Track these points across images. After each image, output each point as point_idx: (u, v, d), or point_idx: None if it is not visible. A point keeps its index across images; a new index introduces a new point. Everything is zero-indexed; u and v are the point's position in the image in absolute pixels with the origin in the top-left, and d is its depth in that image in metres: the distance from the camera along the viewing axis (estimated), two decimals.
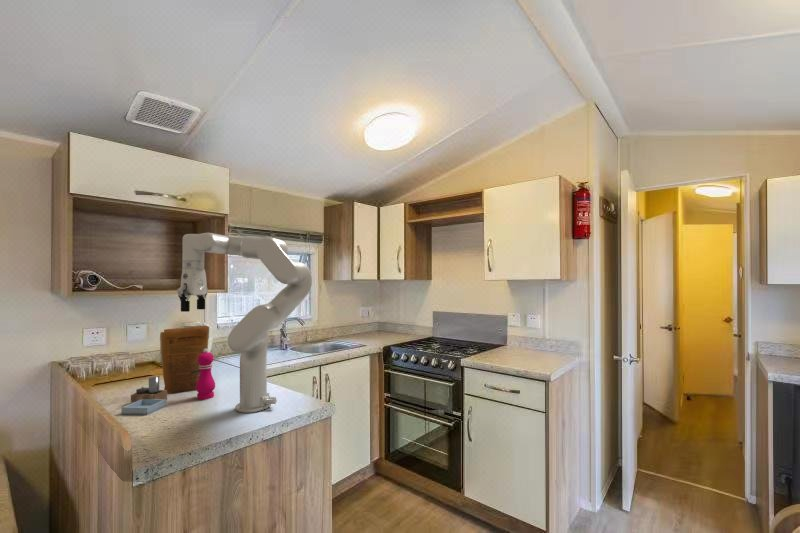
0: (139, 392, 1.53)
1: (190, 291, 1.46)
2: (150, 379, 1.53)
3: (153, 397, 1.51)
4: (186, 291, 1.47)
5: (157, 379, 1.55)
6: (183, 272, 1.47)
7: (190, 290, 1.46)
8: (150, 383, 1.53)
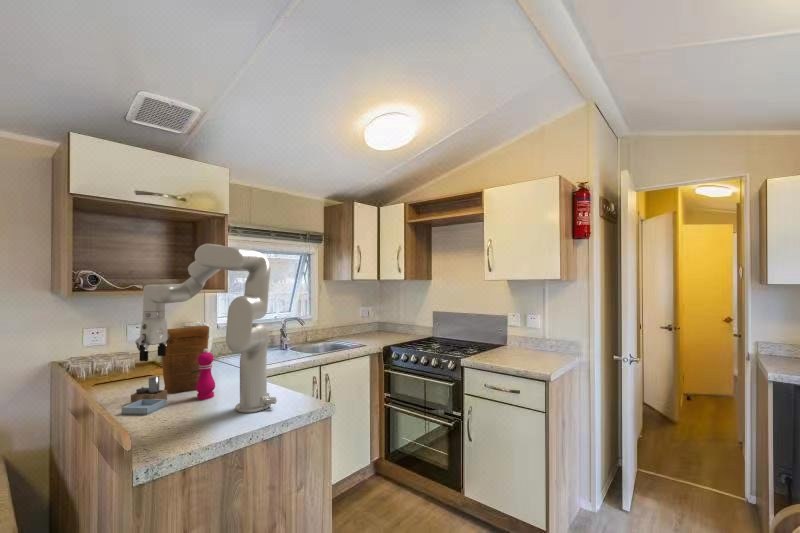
0: (139, 392, 1.53)
1: (148, 342, 1.50)
2: (150, 379, 1.53)
3: (153, 397, 1.51)
4: (145, 341, 1.52)
5: (157, 379, 1.55)
6: (142, 322, 1.51)
7: (149, 340, 1.50)
8: (150, 383, 1.53)
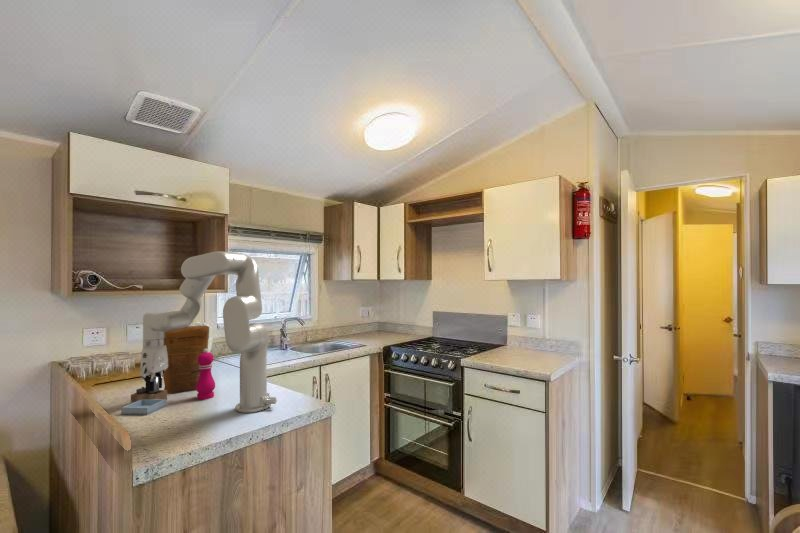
0: (139, 392, 1.53)
1: (149, 370, 1.50)
2: None
3: (153, 397, 1.51)
4: None
5: (157, 379, 1.55)
6: (143, 351, 1.51)
7: (149, 369, 1.50)
8: None
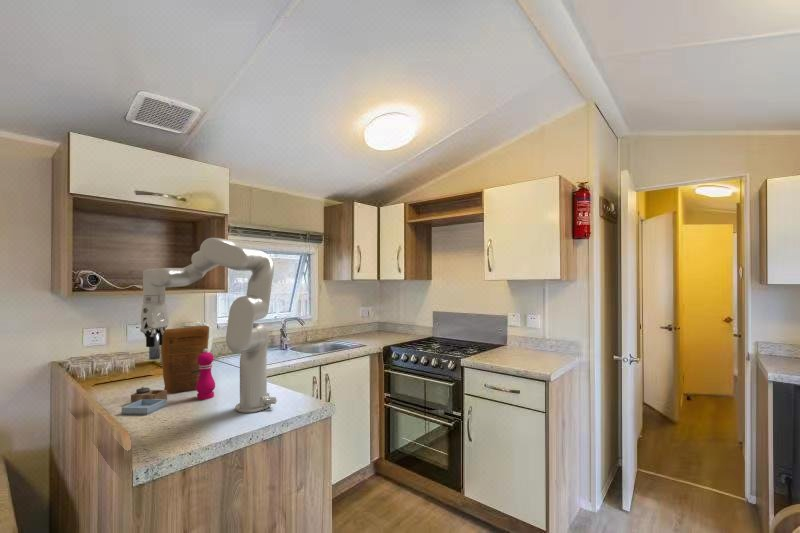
0: (139, 392, 1.53)
1: (149, 325, 1.50)
2: None
3: (153, 397, 1.51)
4: None
5: (157, 335, 1.55)
6: (143, 306, 1.52)
7: (150, 324, 1.50)
8: None
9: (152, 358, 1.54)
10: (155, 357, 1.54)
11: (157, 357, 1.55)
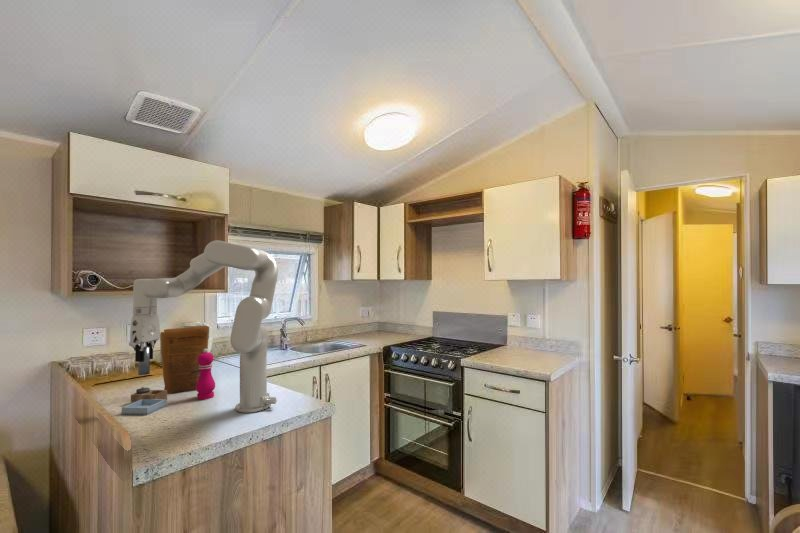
0: (139, 392, 1.53)
1: (139, 339, 1.42)
2: None
3: (153, 397, 1.51)
4: (138, 339, 1.44)
5: (148, 349, 1.46)
6: (133, 319, 1.43)
7: (139, 338, 1.42)
8: None
9: (141, 373, 1.45)
10: (144, 372, 1.45)
11: (147, 372, 1.46)
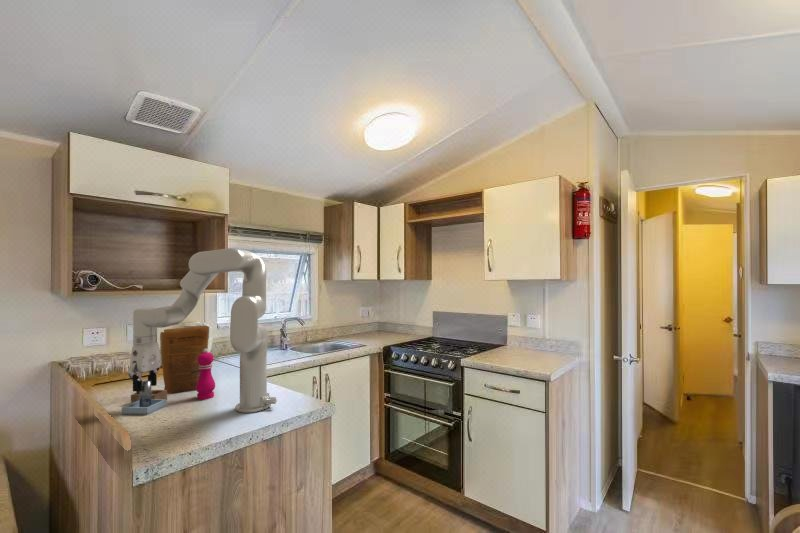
0: (139, 392, 1.53)
1: (139, 369, 1.41)
2: None
3: (153, 397, 1.51)
4: (137, 369, 1.44)
5: (149, 383, 1.46)
6: (133, 349, 1.42)
7: (140, 368, 1.41)
8: None
9: None
10: None
11: None
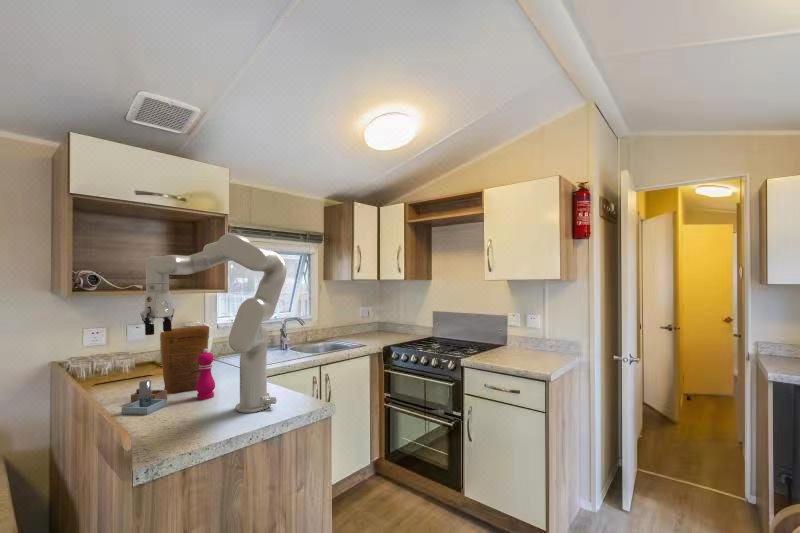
0: None
1: (154, 314, 1.45)
2: (141, 383, 1.45)
3: (153, 397, 1.51)
4: (150, 314, 1.47)
5: (148, 383, 1.46)
6: (147, 295, 1.46)
7: (154, 313, 1.45)
8: (141, 388, 1.45)
9: None
10: None
11: None
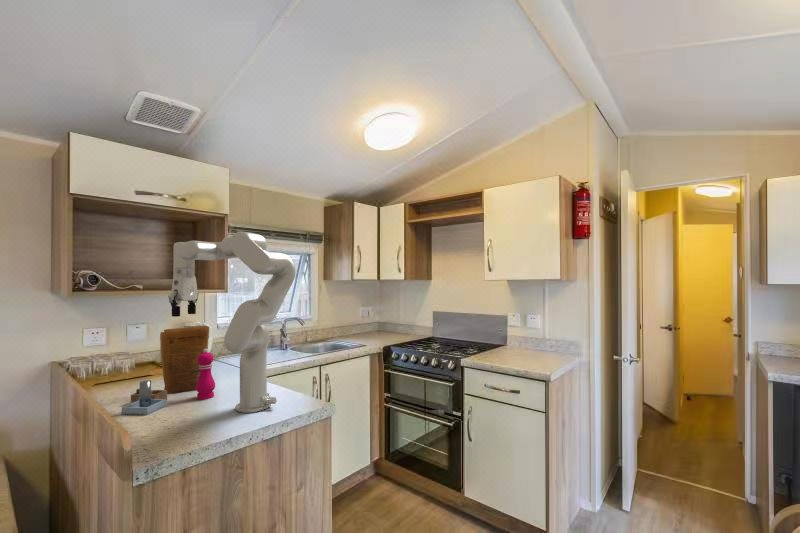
0: None
1: (180, 297, 1.52)
2: (141, 383, 1.45)
3: (153, 397, 1.51)
4: (177, 297, 1.54)
5: (149, 383, 1.46)
6: (174, 279, 1.53)
7: (181, 296, 1.52)
8: (141, 388, 1.44)
9: None
10: None
11: None
